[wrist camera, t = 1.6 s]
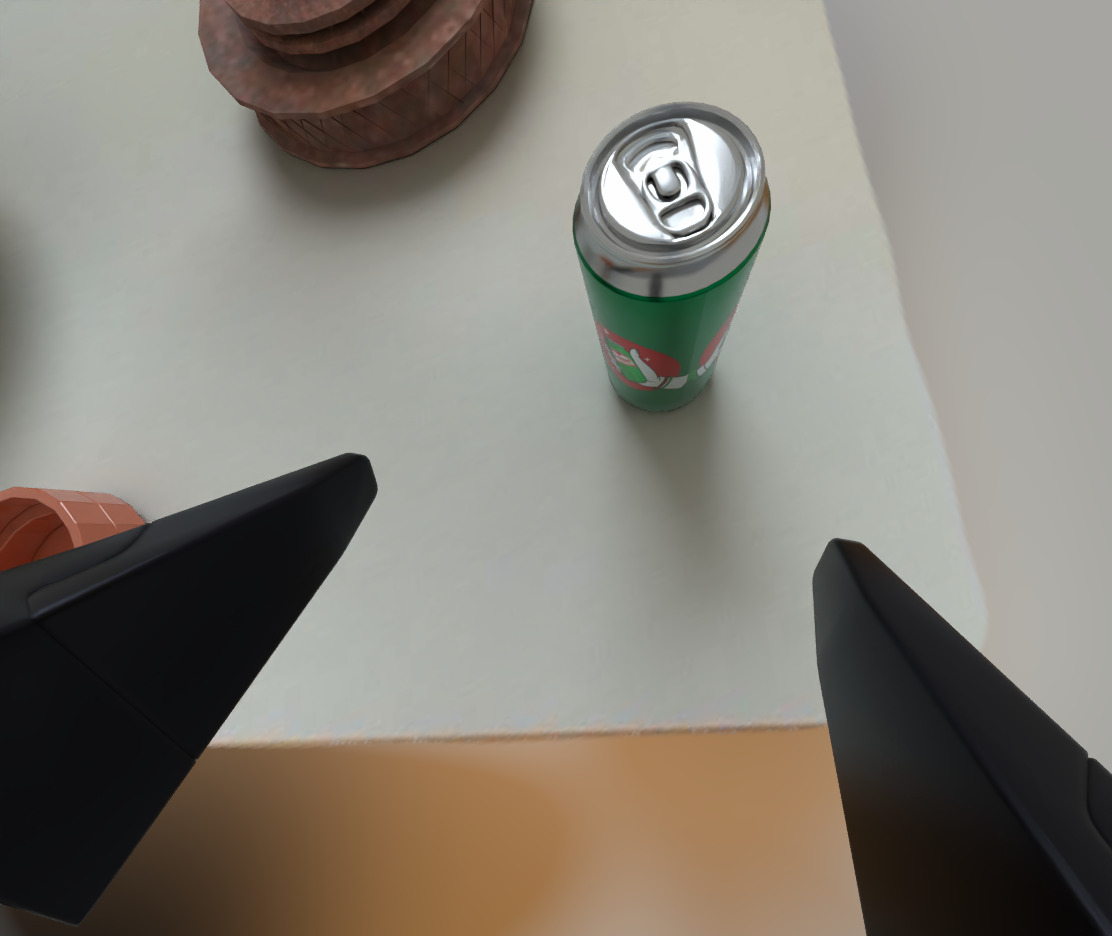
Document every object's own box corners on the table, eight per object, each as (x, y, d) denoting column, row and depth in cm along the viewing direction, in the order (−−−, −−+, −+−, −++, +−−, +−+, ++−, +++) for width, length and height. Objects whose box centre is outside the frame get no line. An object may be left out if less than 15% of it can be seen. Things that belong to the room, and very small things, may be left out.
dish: (175, 673, 25) (90, 698, 21) (17, 710, 27) (-87, 740, 23) (162, 472, 28) (83, 461, 24) (18, 520, 30) (-77, 518, 26)
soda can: (686, 302, 22) (725, 50, 11) (729, 389, 21) (825, 213, 10) (593, 344, 23) (536, 150, 11) (631, 431, 22) (610, 314, 10)
